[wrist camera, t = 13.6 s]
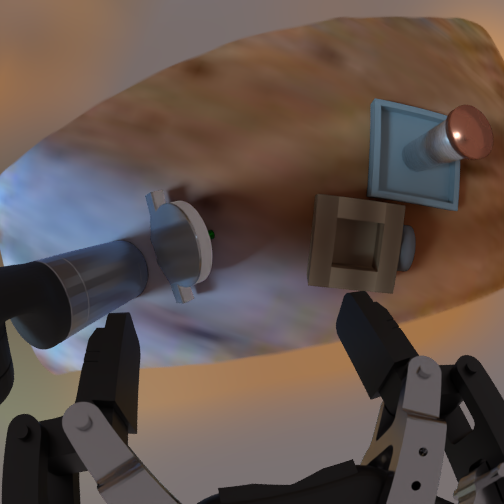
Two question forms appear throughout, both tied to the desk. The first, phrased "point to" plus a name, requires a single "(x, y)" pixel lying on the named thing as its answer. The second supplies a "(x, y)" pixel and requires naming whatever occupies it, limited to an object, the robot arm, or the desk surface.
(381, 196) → the tray
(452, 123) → the pin
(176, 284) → the tabbed white plastic disc
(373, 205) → the block
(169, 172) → the desk surface
